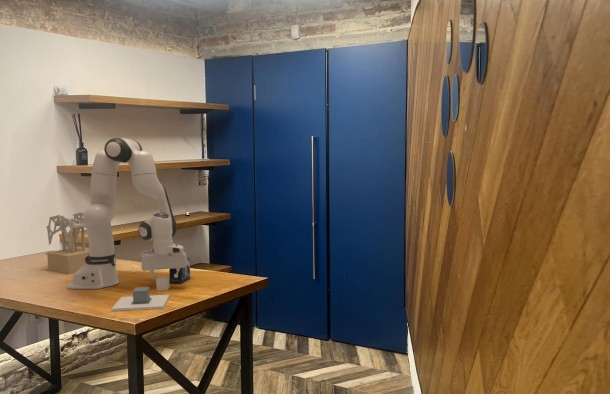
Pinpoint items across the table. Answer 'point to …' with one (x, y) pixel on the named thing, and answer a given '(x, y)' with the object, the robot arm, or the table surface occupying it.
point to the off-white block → (162, 283)
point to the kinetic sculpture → (74, 256)
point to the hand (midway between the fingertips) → (165, 278)
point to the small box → (180, 274)
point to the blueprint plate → (153, 303)
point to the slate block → (141, 295)
